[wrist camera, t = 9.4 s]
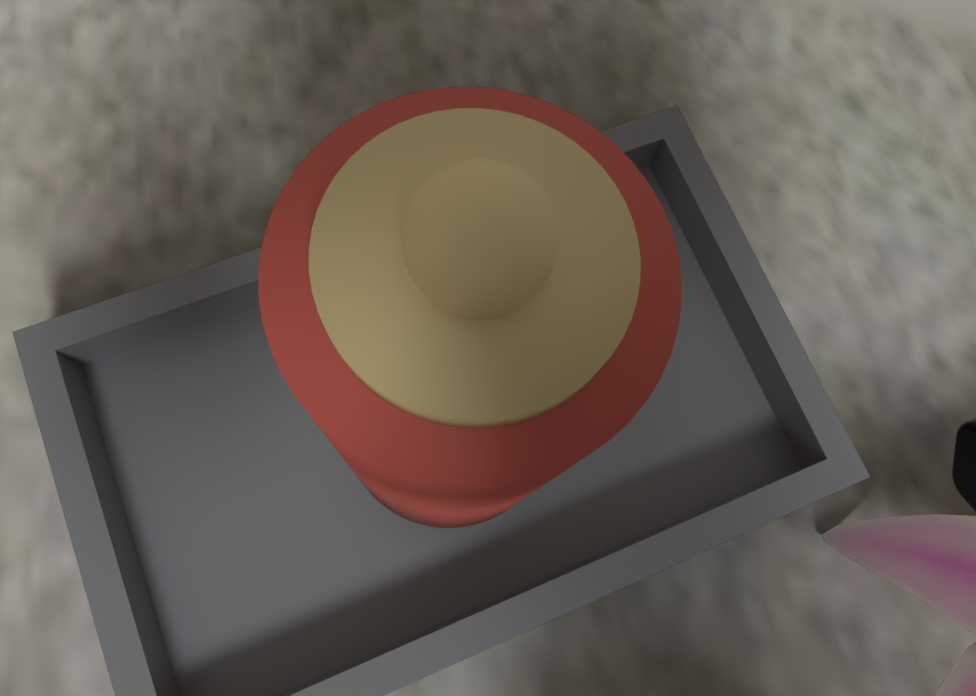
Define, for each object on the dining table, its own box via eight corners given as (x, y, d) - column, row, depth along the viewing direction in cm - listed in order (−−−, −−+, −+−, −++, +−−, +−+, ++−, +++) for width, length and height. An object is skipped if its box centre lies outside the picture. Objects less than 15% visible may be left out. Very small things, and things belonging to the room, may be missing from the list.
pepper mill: (592, 405, 21) (834, 173, 9) (467, 573, 20) (539, 586, 7) (432, 284, 22) (442, -98, 9) (300, 439, 20) (101, 239, 8)
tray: (821, 486, 22) (870, 477, 20) (181, 772, 19) (145, 802, 17) (652, 150, 24) (677, 105, 22) (58, 358, 21) (12, 332, 19)
